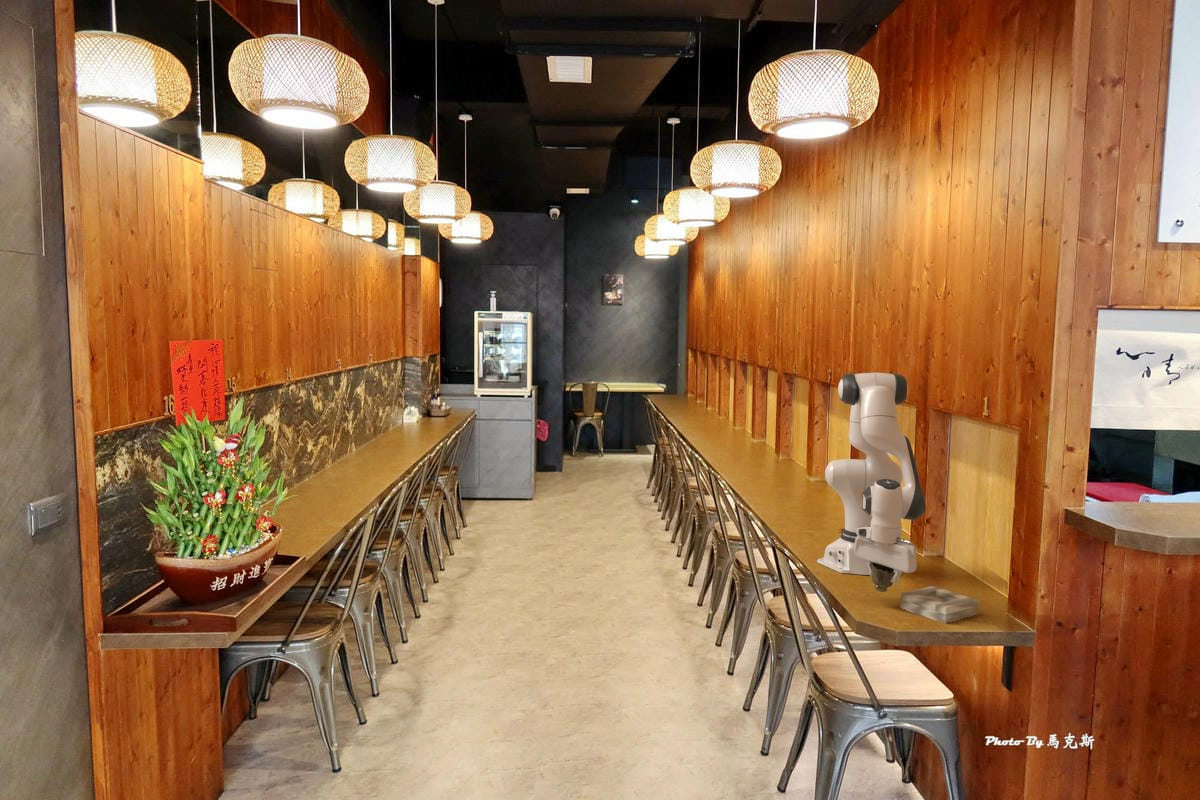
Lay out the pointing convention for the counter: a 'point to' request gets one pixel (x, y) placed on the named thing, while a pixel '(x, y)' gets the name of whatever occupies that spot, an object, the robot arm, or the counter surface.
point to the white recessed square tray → (939, 604)
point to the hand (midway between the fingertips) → (883, 579)
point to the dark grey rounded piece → (881, 576)
